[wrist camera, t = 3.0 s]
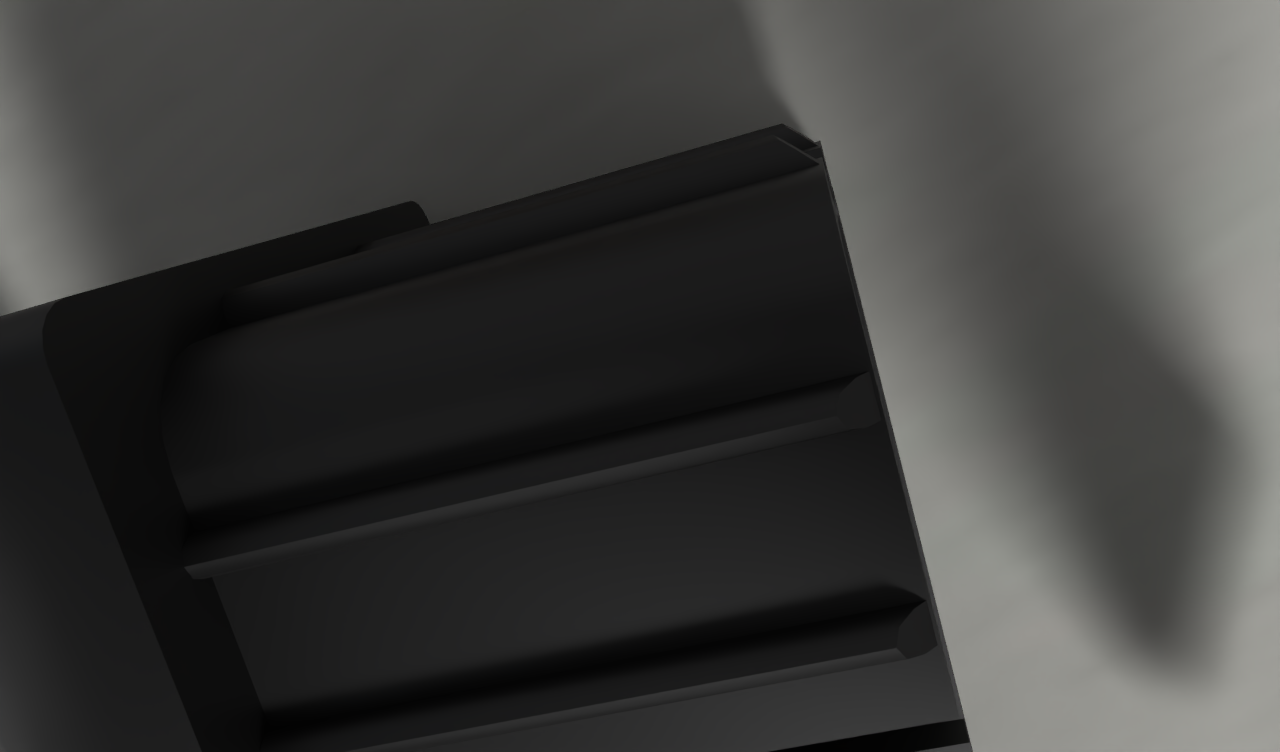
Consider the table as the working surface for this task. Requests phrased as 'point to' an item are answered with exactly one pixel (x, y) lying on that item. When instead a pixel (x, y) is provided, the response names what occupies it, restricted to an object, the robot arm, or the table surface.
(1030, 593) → the table surface
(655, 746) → the end cap
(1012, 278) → the table surface
